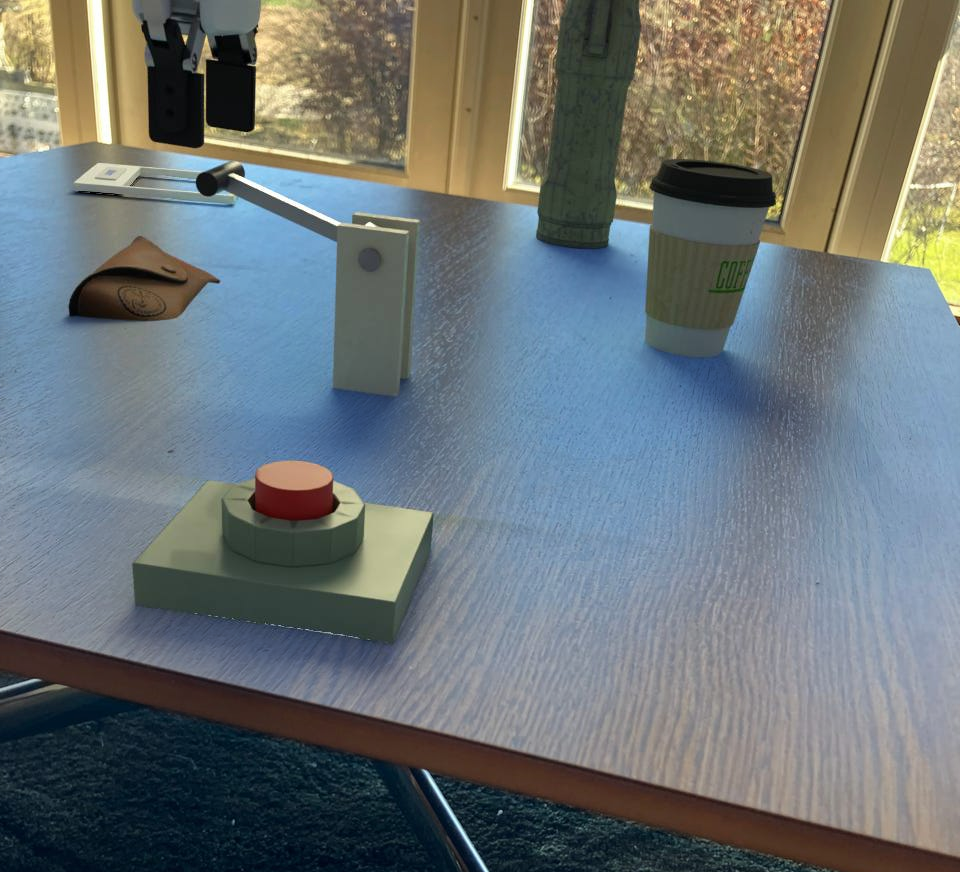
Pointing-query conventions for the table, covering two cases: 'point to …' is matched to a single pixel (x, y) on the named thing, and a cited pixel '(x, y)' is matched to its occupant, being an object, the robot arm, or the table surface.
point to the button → (293, 490)
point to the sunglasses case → (139, 286)
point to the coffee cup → (701, 251)
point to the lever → (264, 198)
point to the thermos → (588, 121)
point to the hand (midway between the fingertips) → (205, 136)
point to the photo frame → (123, 176)
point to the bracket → (375, 302)
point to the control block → (287, 563)
